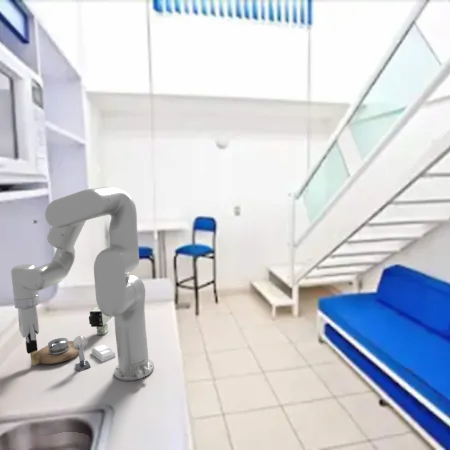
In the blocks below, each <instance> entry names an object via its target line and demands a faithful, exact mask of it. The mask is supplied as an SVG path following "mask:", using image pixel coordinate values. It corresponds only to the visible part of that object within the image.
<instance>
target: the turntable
mask: <svg viewBox="0 0 450 450" xmlns="http://www.w3.org/2000/svg"><path fill="white" fill-rule="evenodd" d="M73 341H74V340H68V346H69V350H68V351H67V352H65V353H63V354H60V355H50V354H49V352H48V350H49V347H48V345H46V346H43V347H42V348H41V349H39V350H38V351H33V352H31V353H29V356H30V362H31V365H33V366H36V365H38V364H42V365H45V364H46V365H49V364H50V365H51V364H58V363H62V362H66V361H68V360H71V359H73V358H75V357H77V355H79V351H78V350H77V349H75V348H74V346H73Z"/></svg>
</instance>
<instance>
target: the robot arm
mask: <svg viewBox="0 0 450 450" xmlns="http://www.w3.org/2000/svg"><path fill="white" fill-rule="evenodd" d="M137 215H138V214H137V208H136V204H135V201H134V199H133V198H132V196H131V195H130V194H129V193H127V192H126V191H125V190H122V189H120V188H117V187H112V186H111V187H109V186H103V187H96V188H86V189H84V190H80V191H78V192H77V191H76V192H74V193H72V194H69V195H66V196H62V197H60V198H57V199H53V200H52V201H51V202H50V203H48V205H47V206H46V208H45V211H44V216H45V220H46V222H47V223H48V225H49V226H51V228H50V230H49V232H48V234H47V236H46V239H47V242H48V243H49V244H50V245H51V246H52V247H54V248H55V249H56V250H55V253H54V255H53V257H52V259H51V261H50V262H47V263H44V264H42V265H40V266H35V265H34V264H32V263H31V264H30V263H28V264H27V263H24V264H18V265H16V266H14V267H12V268H11V271H10V273H11V282H12V283H11V284H12V292H13V301H14V308H15V309H17V312H18V313H17V315H18V317H17V318H18V327H19V328H18V330H19V332H20V334H21V336H22V337H23V338H25V348H26V353H27V354H28V355H30V353H31V352H33V351H39V350H38V341H37V335H38V334H39V333H40V328H39V327H40V326H39V317H38V316H39V315H38V308H37V306H39V305H40V304H41V303H40V294H39V292H40V291H43V290H46V289H47V288H49V287H52V286H54V285H56V284H59V283H60V282H62V281H64V280H65V279H66V277H67V276H68V274H69V273H70V271H71V269H72V267H73V265H74V263H75V257H76V254H75V253H76V251H75V244H76V242H77V240H78V238H79V236H80V234H81V232H82V230H83V227H84V226H85V223H86V222H87V221H89V220H93V219H96V218H100V217H104V216H110V217H111V218H110V222H109V226H108V236H109V237H108V238H109V247H105V248H104V249H102V250H100V252H99V253H98V254H97V255H96V257H95V260H94V263H93V277H94V288H95V298H96V299H95V300H96V304H97V306H98V307H99V309H100V311H101V312H102V313H103V314H104V315H106V316H108V317H111V318H114V320H113V321H114V332H115V341H116V343H115V344H116V353H117V362H118V364H117V365H116V366H115V368H114V371H113V372H114V377H115V378H116V379H118V380H120V381H125V382H126V381H128V382H130V381H131V382H132V381H137V379H138V380H141V379H143V377H144V378H145V376H146V377H148V376H149V375H150V374H151V373H152V372H153V371H154V369H155V364H154V361H152V360H151V359H149V352H148V340H147V339H148V338H147V328H146V314H145V313H146V312H145V308H146V307H145V305H146V302H145V301H146V287H145V284H144V282H143V280H142V279H141V278H140V277H138V276H136V275H133V274H129V273H130V272H133V271H134V270H135V269H136V268H137V267H138V265H139V263H140V251H139V235H138V222H137V221H138V219H137V218H138V217H137Z"/></svg>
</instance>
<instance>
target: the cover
mask: <svg viewBox="0 0 450 450" xmlns="http://www.w3.org/2000/svg"><path fill="white" fill-rule="evenodd" d="M68 341H69V340H68V339H67V338H66V337H59V338H55V339H51V340H50V341H49V342H48V343H47V346H48V347H49V350H48V352H49V354H50V355H60V354H63V353H65V352H67V351H68V350H69V346H68Z"/></svg>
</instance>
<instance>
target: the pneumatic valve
mask: <svg viewBox="0 0 450 450" xmlns="http://www.w3.org/2000/svg"><path fill="white" fill-rule="evenodd" d="M111 319H112V317H108V316H106V315H104V314H103V313H102V312H101V311H100V309H99V307H98V305H97V306H95V307H92V309H91V310H90V311H89V316H88V321H89V323H88V324H89V325H90V327H91V328H93V327H94V328H96V335H98V336H99V335H103V336H105V335H106V334H108V332H109V329H108V322H109V321H110V320H111Z"/></svg>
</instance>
